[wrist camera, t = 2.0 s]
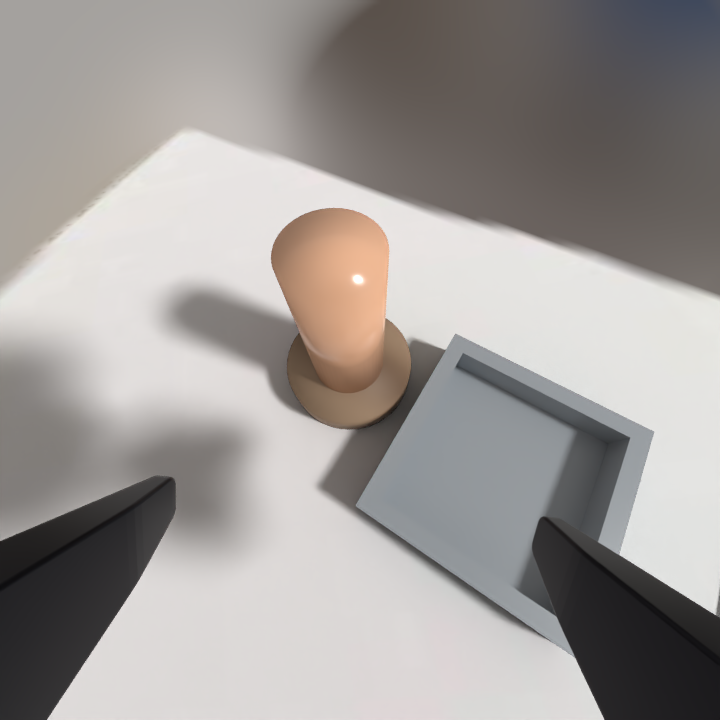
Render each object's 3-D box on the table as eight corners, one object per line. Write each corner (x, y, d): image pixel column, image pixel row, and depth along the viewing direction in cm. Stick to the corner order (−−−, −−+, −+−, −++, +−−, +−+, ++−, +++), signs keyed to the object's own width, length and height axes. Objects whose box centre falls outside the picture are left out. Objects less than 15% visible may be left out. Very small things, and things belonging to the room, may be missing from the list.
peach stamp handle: (359, 406, 20) (346, 320, 11) (301, 371, 21) (246, 267, 12) (395, 350, 22) (410, 234, 13) (339, 320, 23) (315, 193, 14)
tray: (558, 645, 17) (587, 666, 15) (357, 506, 20) (355, 505, 18) (623, 440, 21) (654, 431, 18) (447, 350, 24) (455, 333, 21)
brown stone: (369, 453, 21) (369, 447, 19) (270, 390, 23) (261, 380, 21) (428, 354, 24) (433, 341, 22) (335, 306, 26) (332, 290, 24)
